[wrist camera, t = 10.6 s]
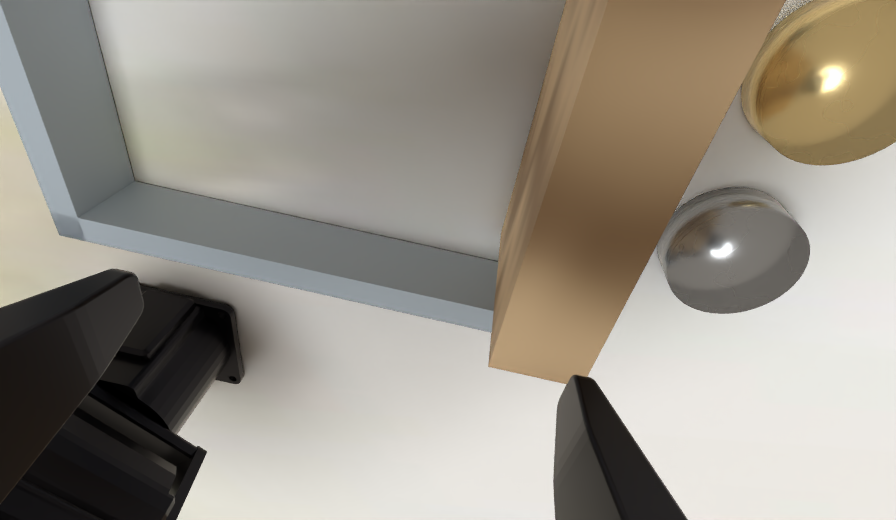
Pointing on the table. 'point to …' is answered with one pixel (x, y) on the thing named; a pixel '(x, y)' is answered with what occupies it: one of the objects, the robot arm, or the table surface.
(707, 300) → the gunmetal token
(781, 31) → the brass token
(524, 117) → the table surface
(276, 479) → the table surface
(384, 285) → the cubby
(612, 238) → the wooden plank block
